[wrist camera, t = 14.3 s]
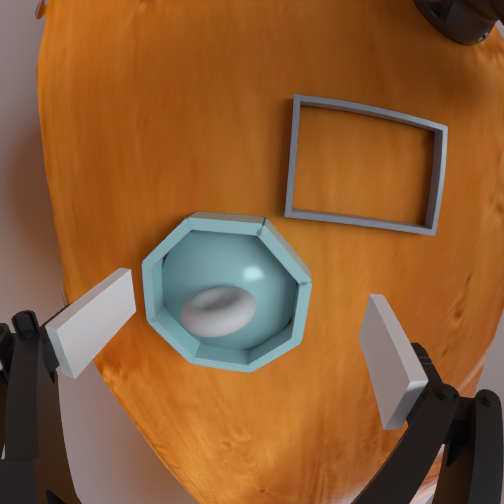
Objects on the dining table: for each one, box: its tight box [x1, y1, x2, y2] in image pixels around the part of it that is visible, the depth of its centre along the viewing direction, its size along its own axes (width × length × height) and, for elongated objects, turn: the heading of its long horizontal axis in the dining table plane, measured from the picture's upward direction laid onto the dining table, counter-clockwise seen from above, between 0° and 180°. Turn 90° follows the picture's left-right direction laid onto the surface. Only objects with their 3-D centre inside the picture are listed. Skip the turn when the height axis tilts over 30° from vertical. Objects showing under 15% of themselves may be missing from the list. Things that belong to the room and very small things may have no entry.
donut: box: [181, 286, 256, 337], centre depth 37 cm, size 10×4×10 cm, turn 100°
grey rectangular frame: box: [285, 94, 448, 236], centre depth 33 cm, size 22×16×2 cm
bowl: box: [142, 211, 312, 373], centre depth 40 cm, size 23×23×4 cm
